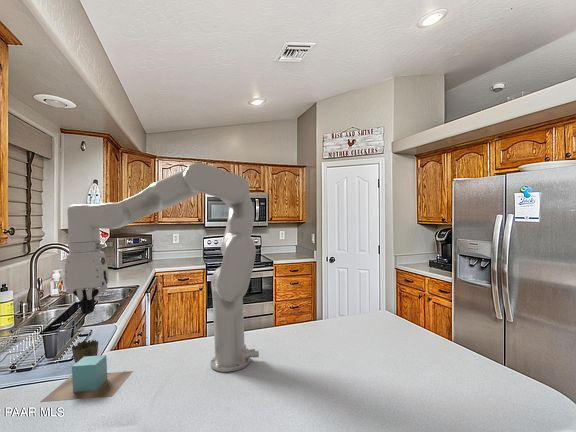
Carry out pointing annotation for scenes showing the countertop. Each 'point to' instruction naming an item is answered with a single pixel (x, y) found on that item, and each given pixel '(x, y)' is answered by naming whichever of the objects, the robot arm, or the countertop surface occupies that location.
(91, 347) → the olive patterned hollow container
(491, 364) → the countertop surface
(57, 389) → the walnut board
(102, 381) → the aqua foam cube
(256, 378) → the countertop surface
